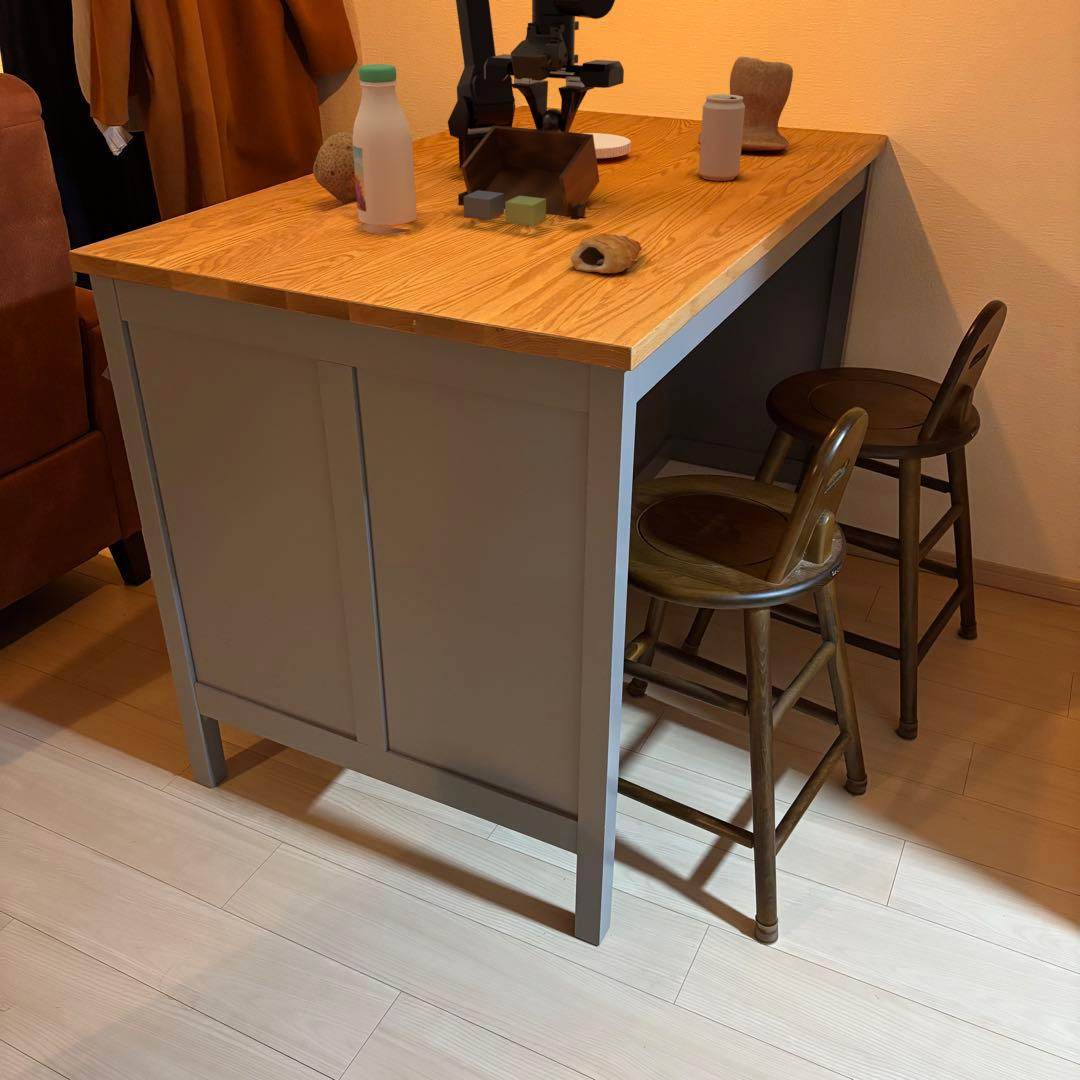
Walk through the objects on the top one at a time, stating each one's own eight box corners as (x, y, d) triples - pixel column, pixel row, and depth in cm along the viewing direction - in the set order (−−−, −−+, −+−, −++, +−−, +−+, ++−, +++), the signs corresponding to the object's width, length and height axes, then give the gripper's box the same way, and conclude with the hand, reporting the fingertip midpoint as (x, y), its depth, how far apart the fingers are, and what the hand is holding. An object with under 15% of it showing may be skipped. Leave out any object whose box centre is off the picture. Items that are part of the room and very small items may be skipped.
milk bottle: (426, 223, 145) (418, 63, 135) (402, 237, 139) (391, 71, 129) (375, 218, 148) (363, 60, 137) (349, 232, 141) (334, 68, 131)
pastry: (608, 251, 134) (609, 220, 132) (655, 260, 131) (657, 228, 129) (566, 269, 127) (567, 236, 125) (614, 279, 124) (616, 246, 122)
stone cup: (791, 145, 192) (801, 54, 185) (784, 158, 183) (795, 62, 175) (707, 140, 196) (714, 50, 188) (696, 152, 186) (703, 58, 179)
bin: (472, 212, 150) (459, 161, 144) (518, 150, 158) (507, 100, 151) (571, 225, 144) (562, 172, 138) (613, 160, 152) (606, 108, 146)
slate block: (478, 220, 147) (464, 226, 144) (477, 190, 145) (463, 196, 142) (504, 223, 145) (490, 230, 142) (504, 193, 143) (489, 199, 140)
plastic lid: (646, 158, 182) (647, 142, 181) (580, 168, 175) (580, 152, 174) (597, 145, 192) (597, 130, 191) (532, 153, 185) (532, 138, 184)
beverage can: (737, 182, 166) (745, 100, 160) (696, 180, 168) (702, 98, 161) (739, 174, 172) (746, 93, 166) (699, 172, 173) (705, 92, 167)
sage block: (519, 225, 144) (505, 232, 141) (519, 195, 142) (505, 201, 139) (546, 229, 143) (532, 236, 140) (546, 198, 141) (532, 205, 138)
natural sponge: (305, 209, 152) (296, 135, 147) (336, 195, 159) (329, 124, 154) (362, 215, 149) (355, 139, 144) (391, 200, 156) (386, 128, 151)
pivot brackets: (455, 214, 150) (454, 193, 148) (463, 210, 151) (462, 190, 150) (581, 230, 142) (582, 209, 141) (588, 226, 144) (589, 205, 143)
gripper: (462, 15, 139) (465, 141, 147) (593, 21, 132) (589, 153, 140) (502, 9, 148) (504, 129, 156) (627, 14, 141) (622, 139, 149)
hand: (552, 137), depth 150 cm, fingers closed on bin, 3 cm apart
